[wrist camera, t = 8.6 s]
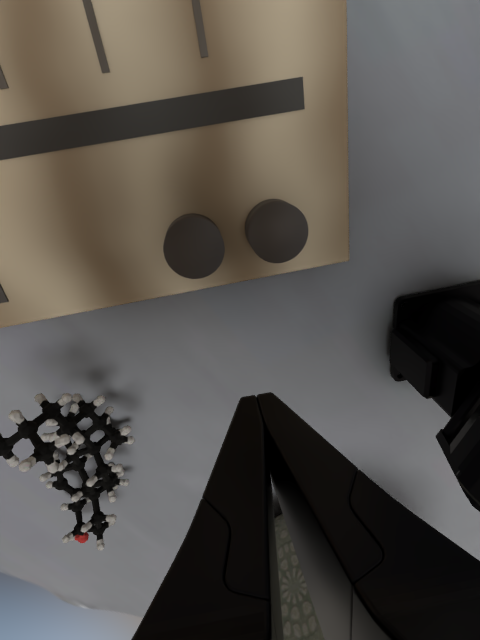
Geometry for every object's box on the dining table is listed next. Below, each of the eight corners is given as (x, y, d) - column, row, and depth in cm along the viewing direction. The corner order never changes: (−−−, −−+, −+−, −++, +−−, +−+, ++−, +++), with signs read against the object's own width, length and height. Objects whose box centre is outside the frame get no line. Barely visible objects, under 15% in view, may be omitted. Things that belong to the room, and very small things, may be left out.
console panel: (323, -149, 14) (364, -240, 10) (335, 251, 21) (361, 268, 18) (-338, -65, 12) (-517, -138, 9) (-81, 330, 19) (-132, 364, 16)
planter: (216, 487, 28) (242, 806, 14) (413, 459, 30) (605, 721, 16) (227, 601, 36) (251, 884, 22) (385, 574, 37) (499, 820, 24)
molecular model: (59, 512, 27) (14, 647, 20) (25, 342, 21) (-60, 449, 13) (143, 505, 28) (130, 631, 21) (135, 342, 22) (113, 441, 14)
